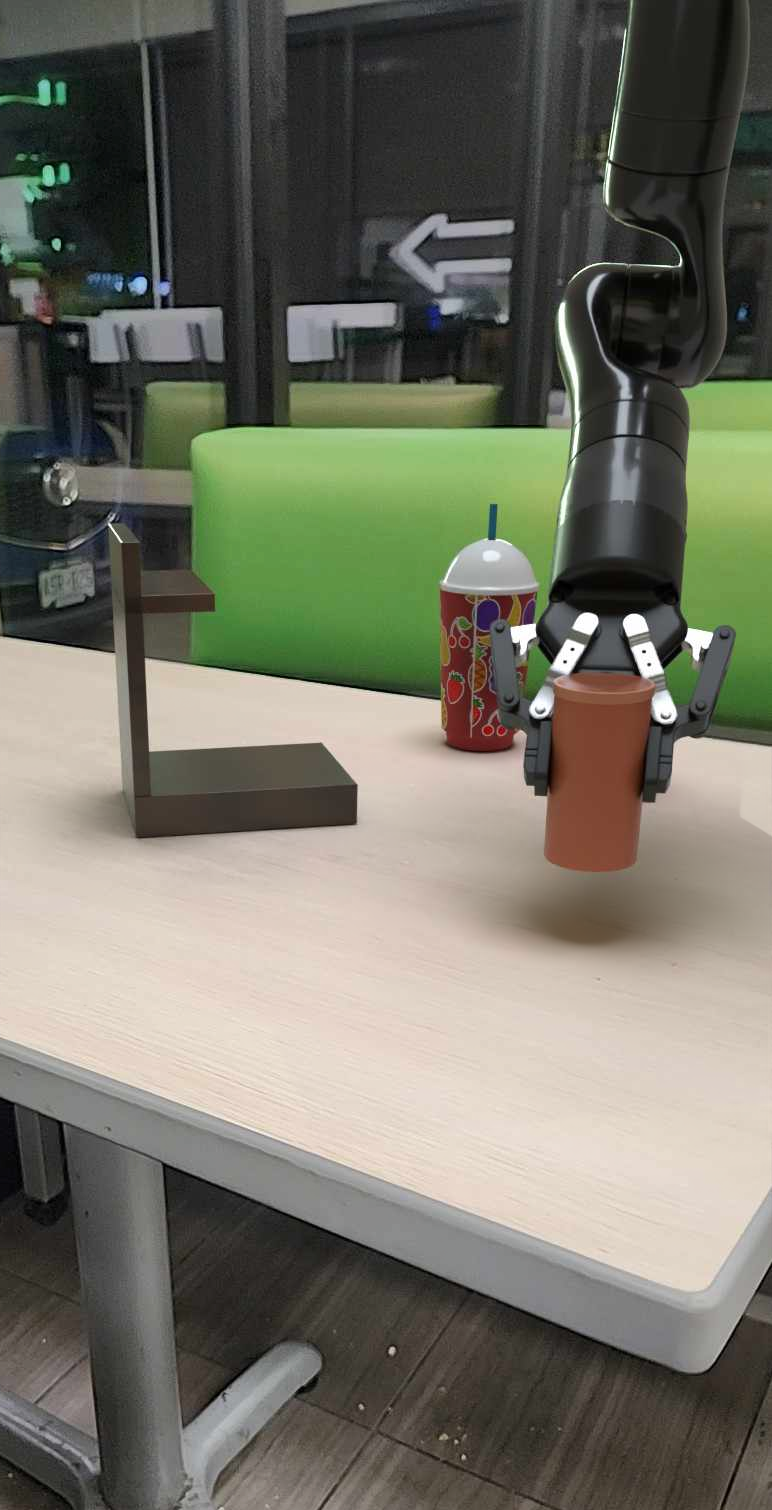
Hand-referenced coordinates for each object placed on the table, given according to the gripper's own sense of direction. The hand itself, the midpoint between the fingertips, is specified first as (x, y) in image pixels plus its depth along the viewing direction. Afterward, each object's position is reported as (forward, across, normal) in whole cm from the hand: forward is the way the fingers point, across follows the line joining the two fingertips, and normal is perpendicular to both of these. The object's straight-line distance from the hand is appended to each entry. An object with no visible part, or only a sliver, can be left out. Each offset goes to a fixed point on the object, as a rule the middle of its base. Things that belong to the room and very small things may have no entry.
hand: (595, 791), depth 72 cm
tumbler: (+2, 0, +4) cm, 5 cm away
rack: (-8, -27, +20) cm, 35 cm away
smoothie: (-24, -11, +37) cm, 45 cm away
